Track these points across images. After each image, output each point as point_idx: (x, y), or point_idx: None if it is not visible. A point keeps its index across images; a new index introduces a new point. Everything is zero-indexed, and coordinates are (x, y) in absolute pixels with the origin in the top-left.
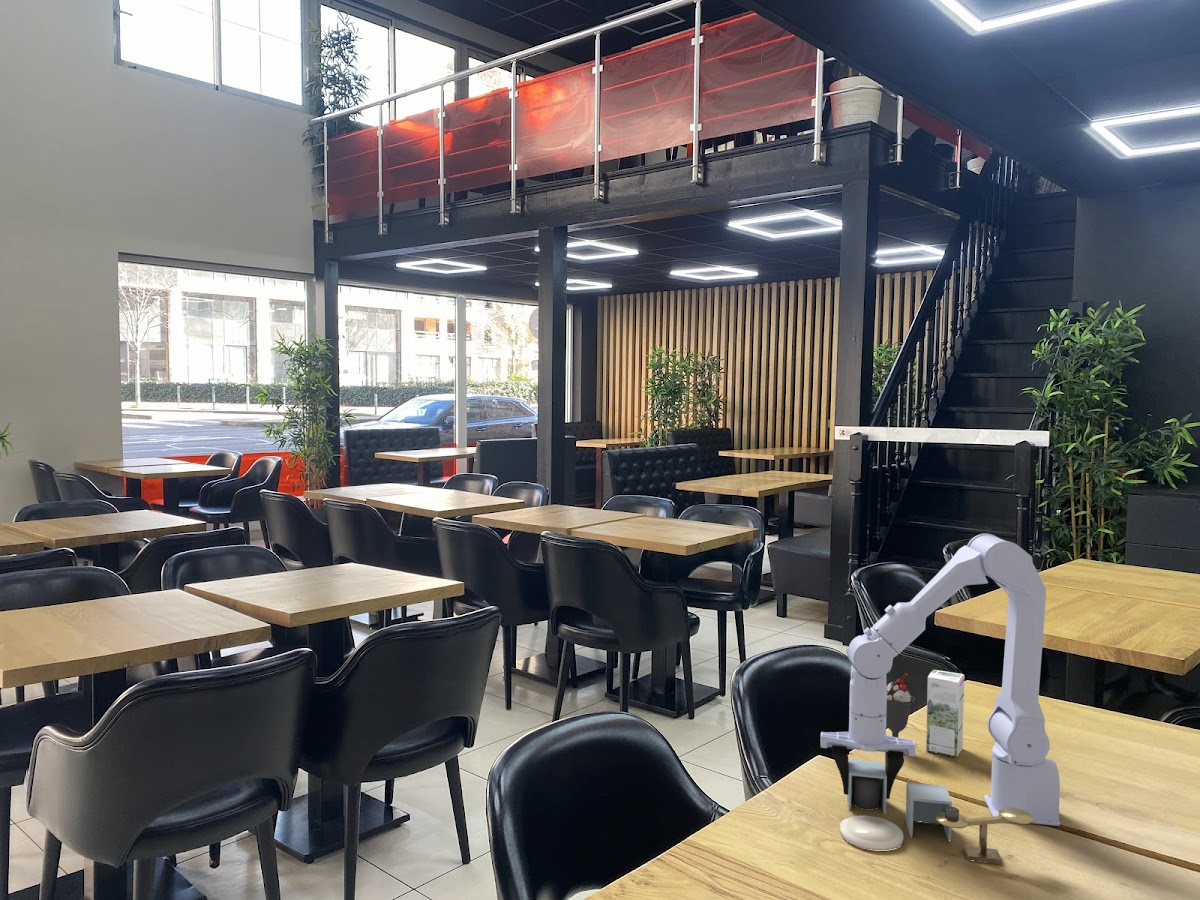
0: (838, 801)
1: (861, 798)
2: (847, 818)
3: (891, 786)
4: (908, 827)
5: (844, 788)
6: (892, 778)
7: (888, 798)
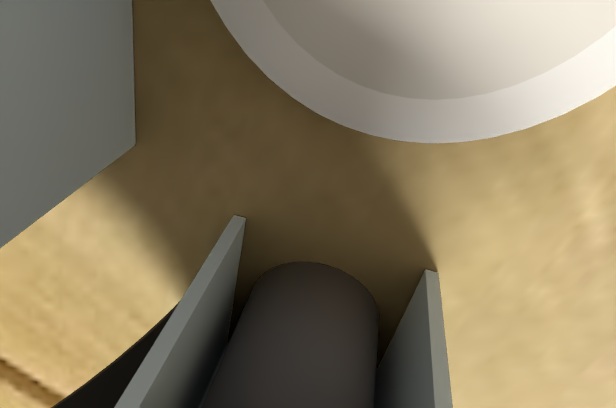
0: (451, 351)
1: (348, 323)
2: (576, 100)
3: (127, 353)
4: (121, 5)
5: None
6: (80, 405)
7: None
